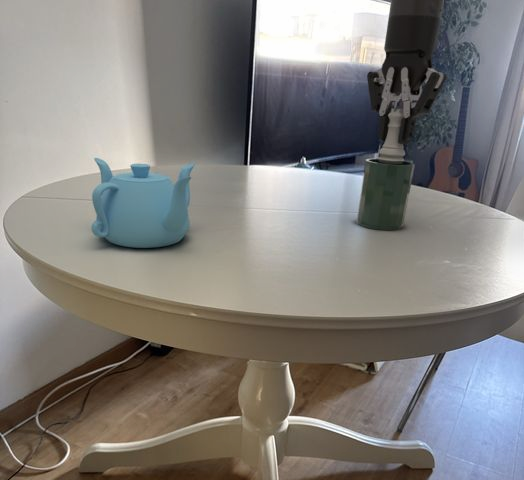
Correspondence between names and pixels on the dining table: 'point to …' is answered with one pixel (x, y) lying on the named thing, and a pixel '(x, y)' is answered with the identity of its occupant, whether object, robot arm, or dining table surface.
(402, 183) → the holder
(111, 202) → the teapot
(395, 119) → the rook chess piece
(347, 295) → the dining table surface
